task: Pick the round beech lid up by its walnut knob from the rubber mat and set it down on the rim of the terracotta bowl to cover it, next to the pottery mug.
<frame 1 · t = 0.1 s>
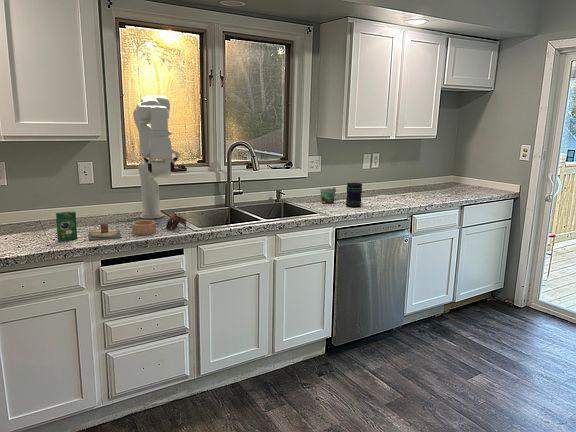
hand: (161, 171, 212), 31 cm above the table, tool pointing down, fingers open, 9 cm apart
storage jar: (353, 206, 299), on the table
pottery mug: (176, 229, 234), on the table
bowl: (144, 232, 226), on the table
mat: (105, 235, 219), on the table
coffee box: (68, 240, 211), on the table
food container: (329, 203, 307), on the table
lid: (104, 234, 219), point 1 cm above the table, touching mat
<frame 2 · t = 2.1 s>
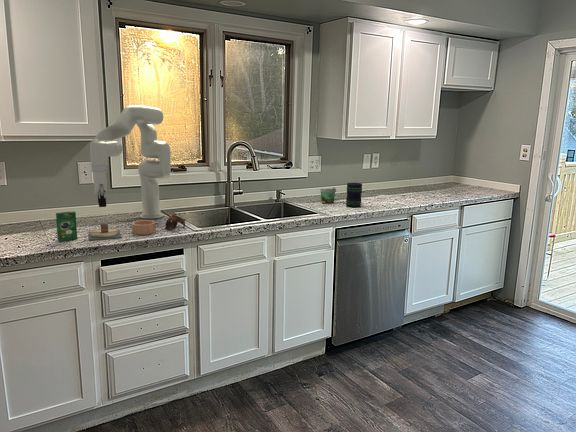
hand: (102, 204, 215), 15 cm above the table, tool pointing down, fingers open, 9 cm apart
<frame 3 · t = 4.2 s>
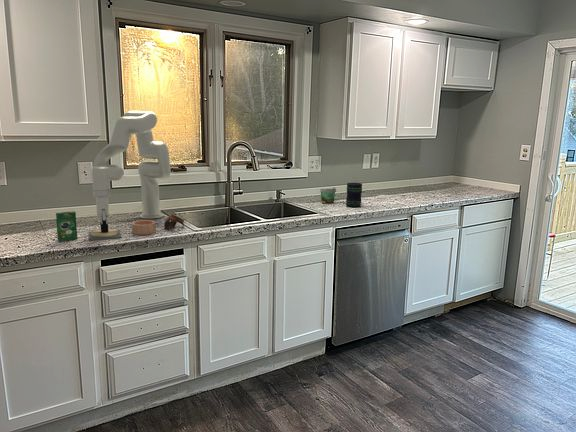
hand: (104, 230, 218), 2 cm above the table, tool pointing down, fingers closed on lid, 3 cm apart
lid: (104, 234, 219), point 1 cm above the table, touching gripper, mat
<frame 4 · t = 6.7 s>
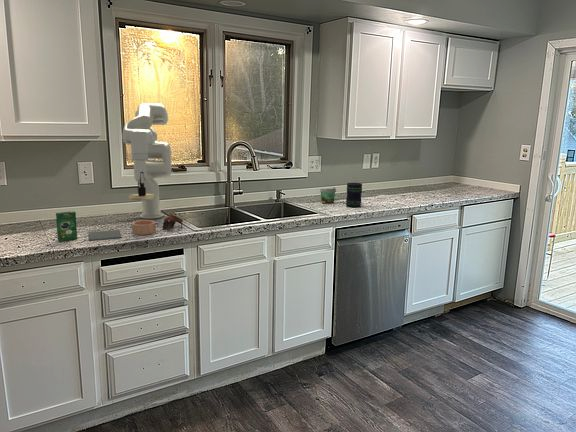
hand: (141, 194, 222), 19 cm above the table, tool pointing down, fingers closed on lid, 3 cm apart
lid: (142, 198, 222), point 17 cm above the table, touching gripper
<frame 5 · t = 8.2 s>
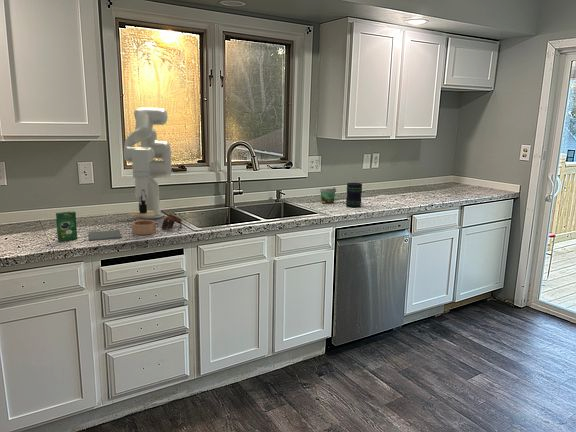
hand: (143, 211, 223), 11 cm above the table, tool pointing down, fingers closed on lid, 3 cm apart
lid: (143, 215, 224), point 9 cm above the table, touching gripper
when the fingers open (8 cm above the table, at t = 9.4 s): lid stays where it is, resting on bowl.
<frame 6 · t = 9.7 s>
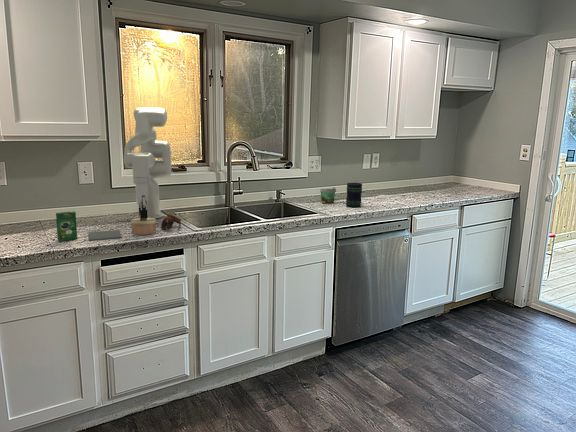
hand: (143, 216, 224), 8 cm above the table, tool pointing down, fingers open, 5 cm apart
lid: (143, 222, 225), point 5 cm above the table, touching bowl
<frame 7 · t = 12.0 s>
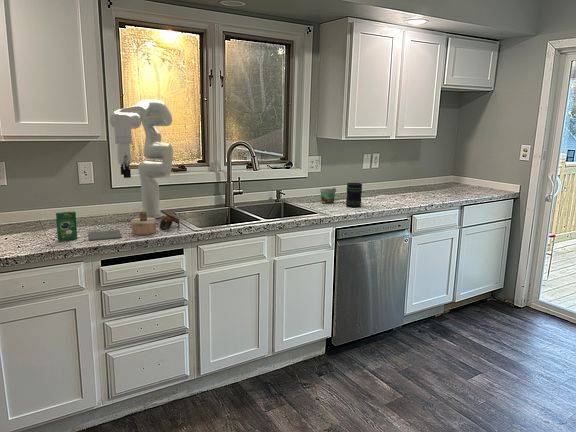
hand: (125, 176, 221), 28 cm above the table, tool pointing down, fingers open, 9 cm apart
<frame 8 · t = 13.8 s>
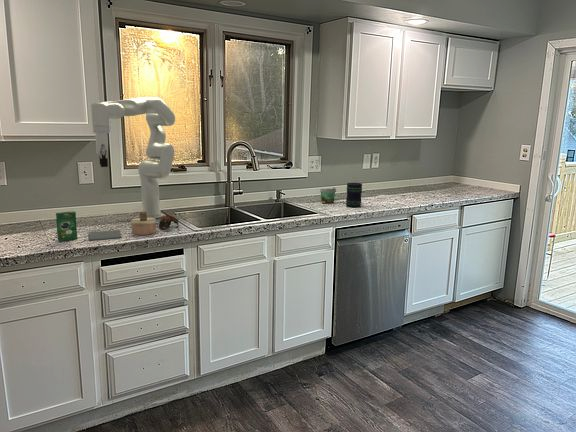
hand: (103, 165, 221), 32 cm above the table, tool pointing down, fingers open, 9 cm apart
at the end: lid 0.1 cm off-centre on the bowl, point 5.0 cm above the bowl's base; lid tilted 0°; the gripper is holding nothing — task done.
